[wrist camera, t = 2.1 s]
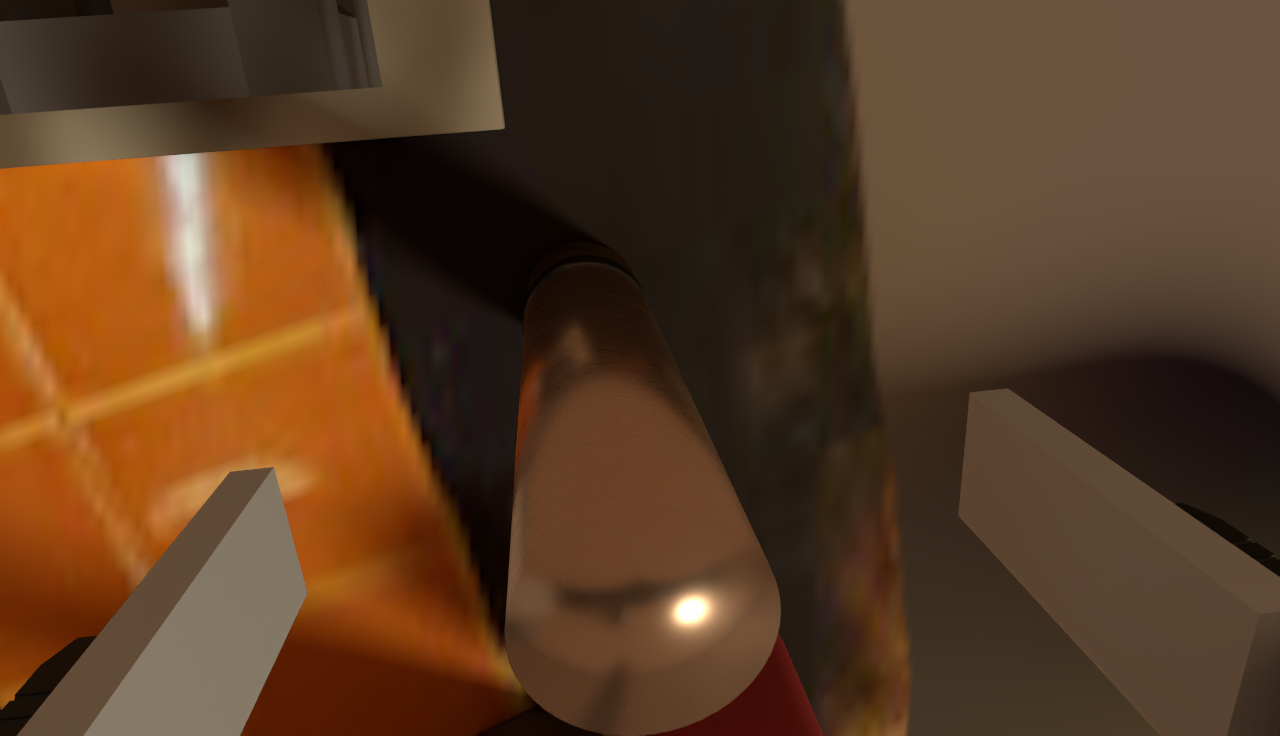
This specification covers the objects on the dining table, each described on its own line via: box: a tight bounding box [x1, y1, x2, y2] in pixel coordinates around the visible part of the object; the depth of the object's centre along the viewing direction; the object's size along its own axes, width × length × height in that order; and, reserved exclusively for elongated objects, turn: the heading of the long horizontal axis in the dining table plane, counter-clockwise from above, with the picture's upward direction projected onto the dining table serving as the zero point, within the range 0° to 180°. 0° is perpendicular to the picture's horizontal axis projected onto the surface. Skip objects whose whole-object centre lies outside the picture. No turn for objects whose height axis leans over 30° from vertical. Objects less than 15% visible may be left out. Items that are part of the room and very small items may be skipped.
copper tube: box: [505, 241, 781, 736], centre depth 20 cm, size 4×4×18 cm
